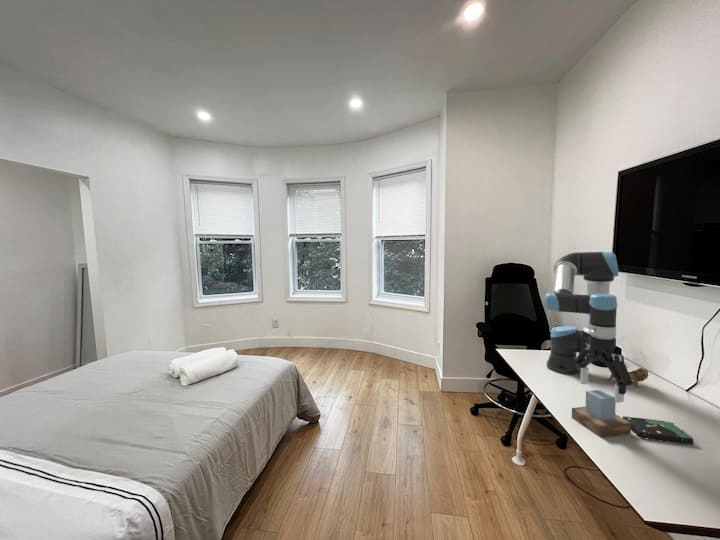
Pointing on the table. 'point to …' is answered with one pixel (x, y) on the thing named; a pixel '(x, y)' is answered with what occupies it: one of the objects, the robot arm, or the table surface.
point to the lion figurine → (636, 376)
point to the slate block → (600, 405)
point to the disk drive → (658, 430)
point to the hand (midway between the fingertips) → (600, 392)
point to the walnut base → (601, 423)
